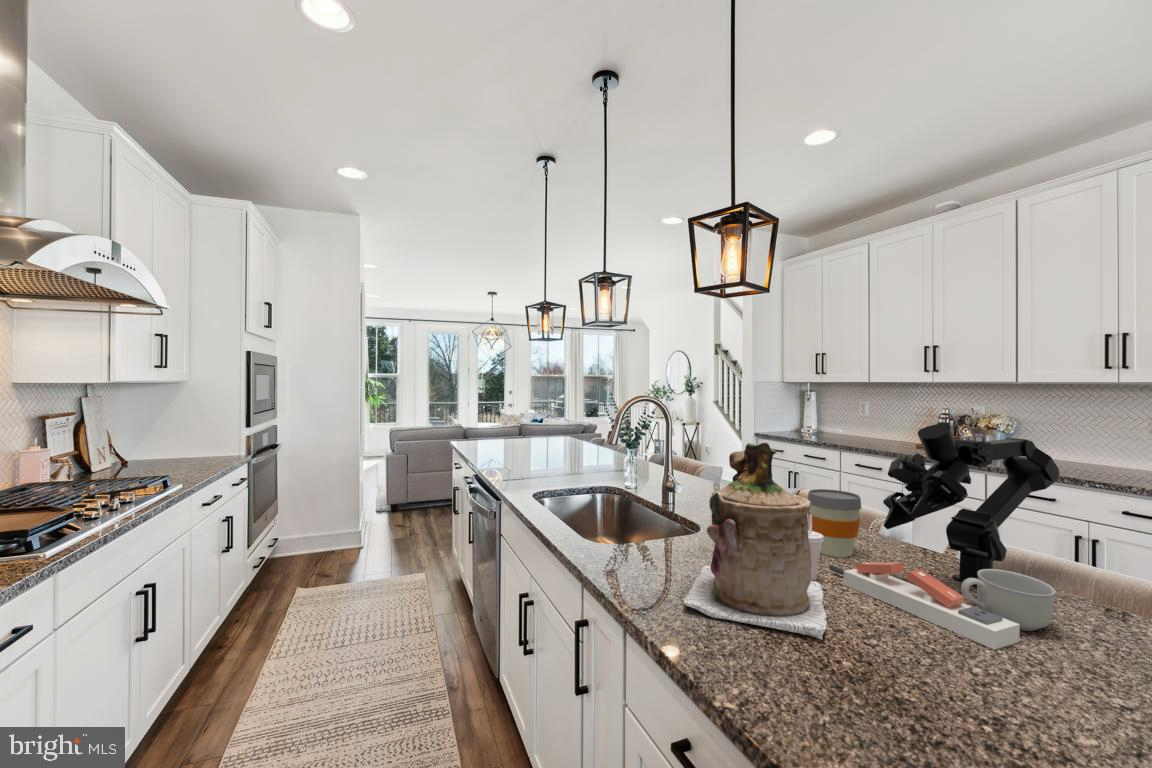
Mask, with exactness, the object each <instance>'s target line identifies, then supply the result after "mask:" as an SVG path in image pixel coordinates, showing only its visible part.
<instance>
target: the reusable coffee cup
mask: <svg viewBox="0 0 1152 768" xmlns="http://www.w3.org/2000/svg"><path fill="white" fill-rule="evenodd" d="M807 499H808V500H809V501H810V502H811V508H810V511H809V512H808V513H807V517H809V515H812V531H813V532H817V533H820V534H822V535H823V540H824V541H823V542H822V545H821V551H820V554H821V553H822V554H821V555H824V554H825V555H824V556H828V555H829V556H828V557H834V558H849V557H848V556H850V557H852V556H853V555H852V554H854V547H855V542H856V538H857V537H858V534H859V530H860V529H859V528H860V522H861V518H860V517H859V516H860V510H861V509H862V500H861V496H860V495H859V494H857V493H853V492H849V491H843V490H839V489H838V490H836V489H823V488H821V489H820V488H819V489H810V490H808V495H807ZM851 555H852V556H851Z"/></svg>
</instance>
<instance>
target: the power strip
mask: <svg viewBox="0 0 1152 768" xmlns="http://www.w3.org/2000/svg"><path fill="white" fill-rule="evenodd" d="M829 570H830V571H832V572H834V573H836V574H839V575H841V576H843V585H844V586H845V587H848V588H850V589H852V590H855V591H858V592H859V593H861V594H864V595H867V596H868V595H869V597H872V598H873V599H875V598H876V600H878V599H879V600H878V601H880V600H881V602H882V601H883V602H882V603H885V602H886V603H885V604H887V603H888V604H887V605H889V604H891V605H890V606H892V605H893V606H892V607H894V606H895V608H896V607H898V608H897V609H899V608H900V609H899V610H901V609H902V610H901V611H903V610H905V611H904V612H906V611H907V612H906V613H908V612H910V613H912V614H911V615H913V614H914V615H913V616H915V615H916V616H915V617H917V616H918V617H917V618H920V619H923V620H924V619H925V621H926V622H929V623H931V624H933V625H936V626H938V625H939V627H940V626H941V628H944V629H945V628H946V630H947V629H948V630H947V631H950V632H952V631H953V632H952V633H954V634H957V635H959V636H961V637H965V638H966V639H969V640H970V641H974V642H976V643H978V644H980V645H983V646H985V647H987V648H989V649H992V650H994V651H995V650H998V649H1001V648H1006V647H1008V646H1011V645H1014V644H1017V643H1020V634H1021V633H1020V631H1021V630H1020V624H1018V623H1015V622H1012V621H1009V620H1007V619H1004V618H1003V617H1000V616H998V615H995V614H992V613H990V612H987V611H984V610H982V609H979V608H978V607H977V606H972V605H969V604H967V603H962V605H959V606H955V607H951V608H948V607H947V606H945V605H944V604H942V603H941V602H940V601H938V600H937V599H935V598H934V597H932V596H931V595H930V594H928V593H927V592H925V591H924V590H922V589H921V588H919V587H918V586H917V585H915V584H914V583H912V582H911V583H910V582H907V581H906V580H905V581H904V580H902V579H900V578H897V577H895V576H892V575H889V573H868V572H857V568H853V569H852V568H851V569H846V570H845V569H843V568H841V567H838V566H836V565H833V564H831V565H830V566H829ZM910 613H909V614H910Z"/></svg>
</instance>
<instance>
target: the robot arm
mask: <svg viewBox="0 0 1152 768" xmlns="http://www.w3.org/2000/svg"><path fill="white" fill-rule="evenodd" d="M917 436H918V438H919V441H920V443H921V446H922V448H923V451H924V452H925V455H926V457H927V459H930V460H931V461H935V462H934V463H933V464H932V465H931V466H930V467H929V468H928V469H927V468H926V461H925V458H924V456H923V455H921V454H920V453H917V452H916V453H915V454H913V455H911V456H910V457H909V456H908V455H905V456H900V457H897V458H896V459H894V460H893V461H891V462H890V465H889V467H888V472H887V476H888V477H890V478H891V479H895V480H897V481H899V482H900V483H902V484H905V486H904V489H905V490H906V491H908V492H909V493H908V494H905V493H903V492H901V491H899V492H898V491H896V492H894V493H892V494H890V495H887V496H886V498H885V499H884V500H883V501H882V502H883V505H884V506H886V508H888V513H887V515H886V517H885V520H884V521H883V527H884V528H885V530H890V529H894V528H895V527H900V526H903V525H906V524H909V523H911V522H913V521H915V520H916V519H918V518H921V517H925V516H926V515H930V514H933V513H936V512H938V511H942V510H944V509H946V508H950V507H952V506H955V505H957V504H958V503H962V502H963V501H964V500H965V499H966V498H967V497H968V496H969V494H968V490H967V488H966V487H965V486H963V484H966V485H971V484H972V478H971V475H970V468H969V467H973V468H979V469H980V468H981V469H982V468H985V467H987V466H990V465H992V464H993V461H994V460H1002V459H1003V461H1002V465H1003V466H1004V468H1005V470H1006V476H1007V477H1006V479H1005V480H1004V481H1003V482H1002V483H1001V484H1000V485H999V486H998V487H997V488H996V489H995V490H994V491H993V492H992V493H991V494H990V495H989V496H988V497H987V498H986V499H985V500H984V501H983V502H982V503H981V504H980V506H979V507H977V508H976V509H975V510H972V509H968V508H967V509H966V508H961V509H960V510H958V512H956V514H955V515H954V516H951V517H950V518H951V520H950V522H949V523H947V526H946V528H945V534H946V538H947V542H948V547H949V549H950V550H952V551H957V552H959V573H958V574H954V575H952V576H951V577H952V579H954V580H957V581H960V582H963V581H964V580H965V579H967V578H976V579H978V575H977V572H978V571H979V570H982V569H994V562H1004V560H1005V559H1006V556H1007V548H1006V547H1005V545H1004V544H1003V542H1002V540H1001V537H1000V532H999V528H1000V526H1002V524H1003V523H1004V522H1005V521H1007V520H1008V517H1010V515H1012V513H1013V512H1014V511H1016V509H1017V508H1018V507H1019V506H1020V505H1021V504H1022V503H1023V502H1024V501H1025V499H1026V498H1028V497H1029V495H1030V494H1031V493H1034V492H1039V491H1044V490H1047V488H1049V487H1051V486H1052V485H1054V484H1055V483H1056V481H1058V479H1059V477H1060V469H1059V467H1058V465H1057V463H1055V461H1054V460H1053V457H1052V456H1050V455H1048V454H1047V453H1045V452H1044V451H1042V450H1041V449H1039V448H1038V447H1037V446H1036V445H1035V443H1034V442H1033V440H1029V439H1027V438H1026V439H1024V438H1013V437H1007V438H1003V439H995V440H984V441H983V440H981V441H980V440H971V439H962V438H961V439H960V438H955V437H954V434H953V432H952V428H951V425H950V423H949V422H941V421H938V422H937V423H936V424H931V425H927V426H925V427H923V428H922V427H921V428H920V429H919V430H918V431H917ZM972 586H974V587H977V585H976V584H973V585H972Z"/></svg>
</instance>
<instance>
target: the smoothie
mask: <svg viewBox="0 0 1152 768" xmlns="http://www.w3.org/2000/svg"><path fill="white" fill-rule="evenodd" d="M808 538H809V539H808V540H809V544H810V548H811V581H816V580H817V578H818V569H819V563H820V558H821V557H820V556H821V553H820V551H821V545H822V542H823V541H824V540H823V535H822V534H820V533H817V532H813V531H812V515H809V516H808Z"/></svg>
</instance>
